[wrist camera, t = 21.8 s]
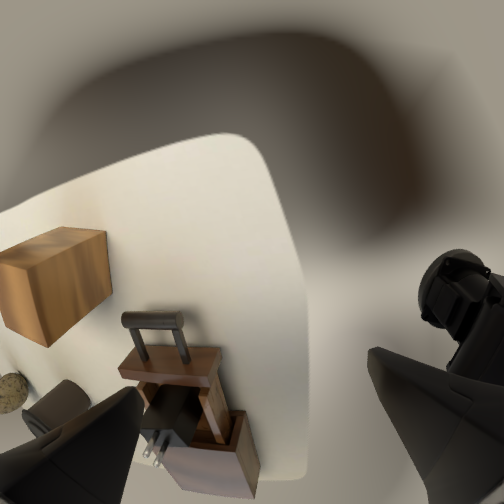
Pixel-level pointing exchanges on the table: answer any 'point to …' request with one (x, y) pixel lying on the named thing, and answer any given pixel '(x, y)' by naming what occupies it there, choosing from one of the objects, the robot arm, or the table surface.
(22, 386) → the decorative egg
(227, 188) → the table surface
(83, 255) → the pedestal
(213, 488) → the cabinet
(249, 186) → the table surface
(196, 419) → the black wall charger
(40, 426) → the coffee cup
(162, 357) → the drawer
